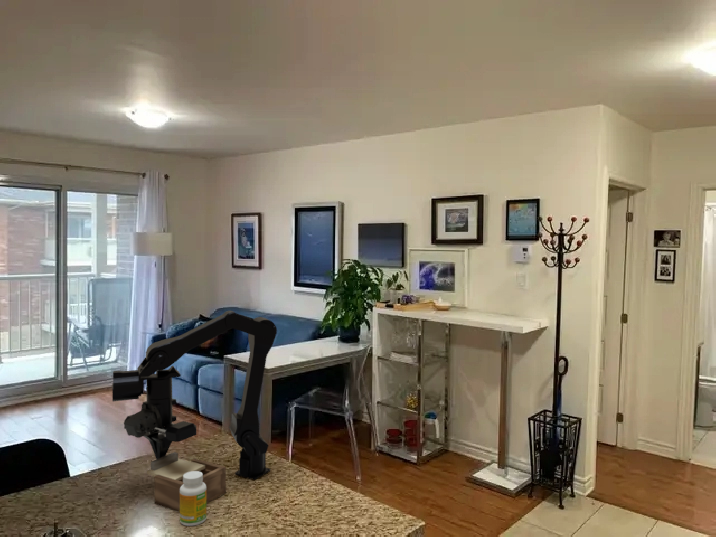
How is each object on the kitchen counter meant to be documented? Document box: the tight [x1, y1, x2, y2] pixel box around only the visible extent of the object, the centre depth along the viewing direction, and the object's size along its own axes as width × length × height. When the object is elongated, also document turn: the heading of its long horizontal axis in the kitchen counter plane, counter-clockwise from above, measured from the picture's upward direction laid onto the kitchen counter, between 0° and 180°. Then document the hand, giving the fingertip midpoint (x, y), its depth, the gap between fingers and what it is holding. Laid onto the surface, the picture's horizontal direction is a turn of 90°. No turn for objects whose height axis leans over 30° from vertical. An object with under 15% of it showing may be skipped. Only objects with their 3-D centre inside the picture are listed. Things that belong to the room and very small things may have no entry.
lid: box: [146, 451, 205, 481], centre depth 128 cm, size 9×9×2 cm
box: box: [153, 458, 227, 513], centre depth 126 cm, size 12×10×6 cm
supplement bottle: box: [179, 471, 207, 527], centre depth 116 cm, size 5×5×10 cm
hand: (160, 461), depth 131 cm, fingers closed
